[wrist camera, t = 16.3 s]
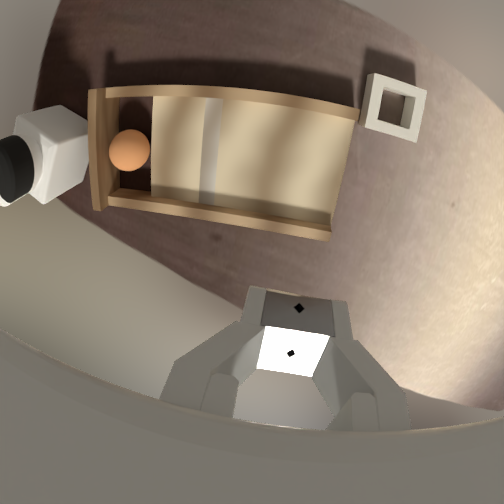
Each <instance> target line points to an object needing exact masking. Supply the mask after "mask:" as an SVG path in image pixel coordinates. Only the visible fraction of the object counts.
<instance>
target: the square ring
mask: <svg viewBox="0 0 504 504" xmlns="http://www.w3.org/2000/svg"><path fill="white" fill-rule="evenodd" d="M383 89H385V90H388V91H391V92H394V93H397V94H400V95H403V96H406V97H405V102H404V108H403V113H402V118H401V122H400V126H398V125H395V124H392V123H388V122H385V121H382V120H378V114H379V109H380V104H381V98H382V93H383ZM426 94H427V91H426V90H423V89H421V88H418V87H415V86H413V85H410V84H407V83H404V82H401V81H399V80H396V79H393V78H389V77H386V76H383V75H380V74H377V73H372V74H368V75H367V80H366V86H365V92H364V98H363V104H362V109H361V114H360V120H359V125H361V126H363V127H365V128H369V129H373V130H376V131H380V132H383V133H387V134H390V135H393V136H396V137H400V138H403V139H406V140H409V141H412V142H415V143H416V142H417V138H418V134H419V129H420V125H421V120H422V115H423V110H424V105H425V99H426Z"/></svg>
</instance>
